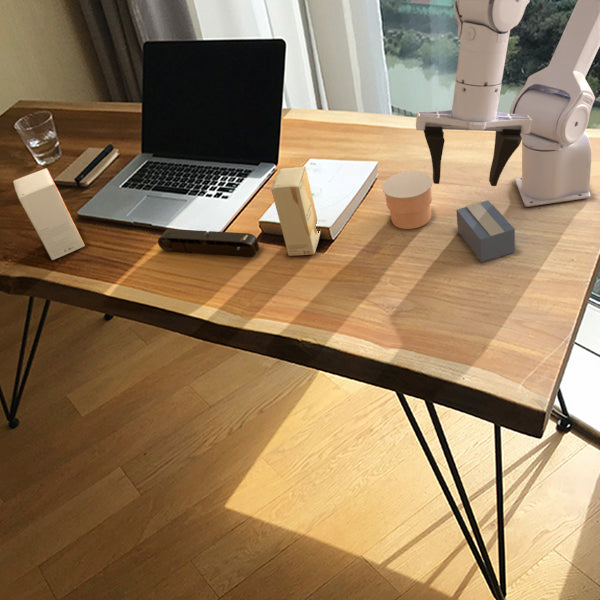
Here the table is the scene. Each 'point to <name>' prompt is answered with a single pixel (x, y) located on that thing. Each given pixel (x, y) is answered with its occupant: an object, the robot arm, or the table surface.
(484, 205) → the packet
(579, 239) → the table surface
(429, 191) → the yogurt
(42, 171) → the small box
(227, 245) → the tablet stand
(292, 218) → the cosmetic box
